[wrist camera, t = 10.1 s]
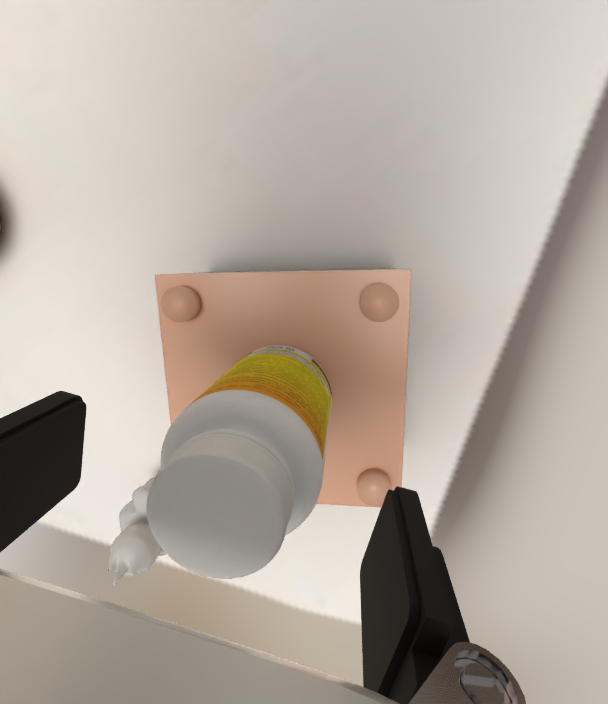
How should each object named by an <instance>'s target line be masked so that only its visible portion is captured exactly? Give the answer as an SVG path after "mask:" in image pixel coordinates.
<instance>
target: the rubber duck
mask: <svg viewBox="0 0 608 704" xmlns="http://www.w3.org/2000/svg"><path fill="white" fill-rule="evenodd" d="M154 479H155V478H154V477H153V478H151V479H150V480H149V481H148V482H147V483H146V484H145V485H144V486H142V487H139V488H138V489H136V490H135V491H134V492H133V495H132V498H133V500H132V501H130V502H129V503H128V504H127V505H126V506H125V507H124V508H123V509H122V510H121V512H120V514H119V520H120V526H121V531H122V532H121V533H120V535H119V536H118V537H117V538H116V539H115V541H114V542H113V544H112V546H111V550H110V559H109V566H108V571H110V572H114V573H116V575H115V578H114V582H113V586H114V585H115V584H116V583H117V582H118V581H119V580H120V579H121V578H122V576H135V575H136V574H138V573H139V572H146V571H147V570H149V569H150V567H151V566H152V564H153V563H154V561H155V560H156V559H157V557H158V556H162V555H165V554H167V553H165V552H164V550H163V549H162V548H161V547H160V545H159V544H158V542H157V541H156V539H155V537H154V536H153V534H152V531H151V529H150V526H149V523H148V518H147V512H146V504H147V497H148V492H149V489H150V487H151V484H152V482H153V480H154Z"/></svg>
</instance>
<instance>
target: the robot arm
mask: <svg viewBox="0 0 608 704" xmlns="http://www.w3.org/2000/svg"><path fill="white" fill-rule="evenodd" d="M85 418H86V404H85V403H84V402H83V400H82V398H81V397H80V396H78V395H74V394H71V393H67V392H64V391H59V392H56V393H54V394H52V395H50V396H47V397H45V398H43V399H41V400H39V401H37V402H35V403H32V404H30V405H28V406H26V407H24V408H22V409H20V410H17V411H15V412H13V413H11V414H9V415H7V416H5V417H2V418H0V552H1V551H2V550H4V549H5V548H6V547H7V546H8V545H9V544H11V543H12V542H13V541H14V540H15V539H16V538H18V537H19V536H20V535H21V534H22V533H24V532H25V531H26V530H27V529H28V528H29V527H31V526H32V525H33V524H34V523H35V522H37V521H38V520H39V519H40V518H41V517H42V516H44V515H45V514H46V513H47V512H48V511H49V510H51V509H52V508H53V507H54V506H55V505H57V504H58V503H59V502H60V501H61V500H62V499H64V498H65V497H66V496H67V495H68V494H69V493H71V492H72V491H73V490H74V489H75V488H76V487H77V485H78V483H79V481H80V478H81V467H82V455H83V442H84V430H85ZM360 588H361V619H362V651H363V681H364V682H363V683H364V687H362V686H359V685H356V684H354V683H351V682H349V681H347V680H344V679H342V678H339V677H336V676H333V675H330V674H327V673H324V672H322V671H318V670H316V669H313V668H310V667H307V666H304V665H301V664H298V663H295V662H292V661H289V660H287V659H284V658H281V657H278V656H275V655H272V654H269V653H266V652H263V651H259V650H256V649H253V648H250V647H247V646H244V645H241V644H238V643H235V642H232V641H228V640H225V639H222V638H219V637H216V636H213V635H210V634H207V633H203V632H200V631H197V630H194V629H191V628H188V627H185V626H182V625H179V624H176V623H172V622H169V621H166V620H163V619H160V618H157V617H153V616H150V615H147V614H144V613H141V612H138V611H134V610H131V609H128V608H125V607H121V606H118V605H115V604H112V603H109V602H106V601H103V600H99V599H96V598H93V597H90V596H87V595H84V594H80V593H77V592H74V591H71V590H68V589H64V588H61V587H58V586H55V585H51V584H48V583H45V582H41V581H39V580H35V579H32V578H29V577H26V576H22V575H19V574H16V573H13V572H9V571H6V570H3V569H0V704H526V701H525V697H524V695H523V693H522V690H521V688H520V686H519V684H518V682H517V681H516V679H515V678H514V676H513V675H512V673H511V672H510V671H509V669H508V668H507V667H506V666H505V665H504V664H503V663H502V662H501V661H500V660H499V659H498V658H497V657H496V656H494V655H493V654H491V653H490V652H489V651H488V650H486V649H484V648H482V647H480V646H478V645H477V644H473V643H470V642H469V638H468V635H467V632H466V628H465V625H464V622H463V619H462V616H461V612H460V609H459V606H458V603H457V600H456V597H455V593H454V590H453V586H452V583H451V580H450V577H449V574H448V570H447V567H446V564H445V561H444V557H443V555H442V552H441V550H440V549H439V548H437V547H433V546H432V542H431V539H430V535H429V532H428V528H427V525H426V521H425V518H424V514H423V511H422V507H421V504H420V500H419V497H418V494H417V492H416V491H412V490H409V489H405V488H402V487H398V486H397V487H396V488H395V489H394V490H390V489H389V490H388V491H387V494H386V496H385V499H384V502H383V505H382V507H381V510H380V513H379V516H378V519H377V521H376V524H375V527H374V530H373V533H372V535H371V538H370V541H369V544H368V546H367V549H366V552H365V555H364V558H363V560H362V564H361V570H360Z"/></svg>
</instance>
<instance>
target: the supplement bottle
mask: <svg viewBox="0 0 608 704" xmlns="http://www.w3.org/2000/svg"><path fill="white" fill-rule="evenodd" d="M331 408H332V390H331V386H330V382H329V379H328V377H327V375H326V373H325V371H324V370H323V368H322V367H321V366H320V364H319V363H318V362H317V361H316V360H315V359H314V358H312V357H311V356H310V355H309V354H307V353H305V352H303V351H301V350H299V349H297V348H294V347H290V346H285V345H270V346H265V347H261V348H259V349H256V350H254V351H252V352H251V353H249V354H247V355H246V356H245V357H243V358H242V359H241V360H240V361H239V362H237V363H236V364H235V365H234V366H233V367H232V368H231V369H230V370H228V371H227V372H226V373H225V374H224V375H223V376H221V377H220V378H219V379H218V380H217V381H216V382H215V383H214V384H213V385H212V386H210V387H209V388H208V389H207V390H206V391H205V392H204V393H202V394H201V395H200V396H199V397H198V398H196V399H195V400H194V401H193V402H192V403H191V404H190V405H189V406H188V407H186V408H185V410H184V411H183V412H182V413H181V414H180V415H179V416H178V417H177V418H176V419H175V421H174V422H173V423H172V425H171V426H170V428H169V430H168V432H167V434H166V437H165V439H164V443H163V446H162V452H161V470H160V471H159V473H158V474H157V475H156V477H155V479H154V480H153V482H152V484H151V487H150V489H149V492H148V497H147V504H146V512H147V518H148V523H149V526H150V529H151V531H152V534H153V536H154V537H155V539H156V541H157V542H158V544H159V545H160V547H161V548H162V549H163V550H164V552H165V553H167V554H168V555H169V556H170V558H171V559H173V560H174V561H175V562H176V563H178V564H179V565H181V566H183V567H184V568H186V569H188V570H190V571H192V572H195V573H197V574H200V575H203V576H207V577H212V578H219V579H232V578H238V577H243V576H246V575H249V574H252V573H254V572H256V571H258V570H260V569H261V568H263V567H264V566H266V565H267V564H268V563H269V562H270V561H271V560H272V559H273V558H274V556H275V555H276V554H277V552H278V551H279V549H280V547H281V545H282V542H283V540H284V536H285V535H287V534H289V533H290V532H292V531H293V530H295V529H296V528H297V527H298V526H299V525H300V524H302V523H303V522H304V521H305V519H306V518H307V517H308V516H309V514H310V513H311V512H312V510H313V508H314V506H315V504H316V502H317V500H318V497H319V494H320V490H321V487H322V481H323V473H324V465H325V456H326V449H327V441H328V433H329V425H330V417H331Z"/></svg>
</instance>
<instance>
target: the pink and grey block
mask: <svg viewBox="0 0 608 704" xmlns="http://www.w3.org/2000/svg"><path fill="white" fill-rule="evenodd" d="M155 282H156V291H157V301H158V310H159V319H160V328H161V337H162V347H163V356H164V365H165V374H166V384H167V393H168V402H169V411H170V420H171V425H172V423H173V422H174V421H175V419H176V418H177V417H178V416H179V415H180V414H181V413H182V412H183V411H184V410H185V408H186V407H188V406H189V405H190V404H191V403H192V402H193V401H194V400H195V399H196V398H198V397H199V396H200V395H201V394H202V393H204V392H205V391H206V390H207V389H208V388H209V387H210V386H212V385H213V384H214V383H215V382H216V381H217V380H218V379H219V378H220V377H221V376H223V375H224V374H225V373H226V372H227V371H228V370H230V369H231V368H232V367H233V366H234V365H235V364H236V363H237V362H239V361H240V360H241V359H242V358H243V357H245V356H246V355H247V354H249V353H251V352H252V351H254V350H256V349H259V348H261V347H265V346H270V345H285V346H290V347H294V348H297V349H299V350H301V351H303V352H305V353H307V354H309V355H310V356H311V357H312V358H314V359H315V360H316V361H317V362H318V363H319V364H320V366H321V367H322V368H323V370H324V371H325V373H326V375H327V377H328V379H329V382H330V386H331V390H332V408H331V417H330V425H329V433H328V441H327V449H326V456H325V465H324V473H323V481H322V487H321V490H320V494H319V497H318V500H317V502H316V504H330V505H348V506H365V507H382V505H383V502H384V499H385V496H386V494H387V491H388V490H389V489H390V490H394V489H395V488H396V487H397V486H398V487H401V484H402V462H403V439H404V417H405V395H406V373H407V350H408V328H409V306H410V284H411V270H405V269H355V270H302V271H249V272H203V273H180V274H157V275H155Z"/></svg>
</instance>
